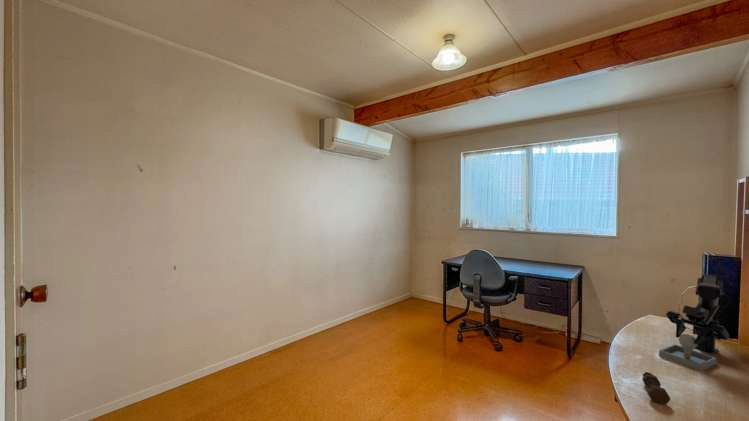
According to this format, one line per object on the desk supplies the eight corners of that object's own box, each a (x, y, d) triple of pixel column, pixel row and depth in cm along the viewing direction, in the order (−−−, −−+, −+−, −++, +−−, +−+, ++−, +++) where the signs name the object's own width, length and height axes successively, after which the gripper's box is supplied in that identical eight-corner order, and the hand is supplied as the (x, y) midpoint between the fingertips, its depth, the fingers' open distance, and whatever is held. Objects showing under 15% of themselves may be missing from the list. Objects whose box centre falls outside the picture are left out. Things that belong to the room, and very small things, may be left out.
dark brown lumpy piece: (650, 386, 117) (661, 408, 104) (635, 376, 119) (644, 396, 106) (661, 375, 115) (674, 396, 102) (646, 365, 117) (656, 384, 104)
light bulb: (693, 362, 129) (694, 338, 128) (675, 356, 133) (676, 333, 133) (699, 359, 131) (700, 336, 131) (681, 354, 136) (682, 331, 136)
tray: (674, 349, 141) (674, 344, 141) (716, 363, 129) (716, 357, 129) (658, 355, 135) (659, 350, 135) (701, 371, 124) (701, 365, 123)
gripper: (669, 292, 141) (651, 319, 138) (726, 306, 123) (706, 338, 121) (680, 308, 144) (662, 335, 141) (737, 324, 126) (718, 355, 123)
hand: (685, 340), depth 132 cm, fingers open, 6 cm apart
